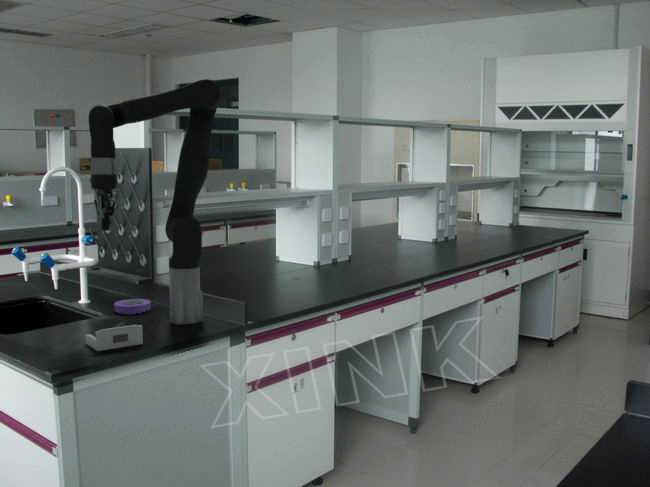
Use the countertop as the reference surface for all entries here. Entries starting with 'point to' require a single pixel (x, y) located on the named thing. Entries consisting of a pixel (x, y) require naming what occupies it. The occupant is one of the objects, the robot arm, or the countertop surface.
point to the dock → (116, 337)
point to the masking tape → (132, 306)
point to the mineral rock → (120, 325)
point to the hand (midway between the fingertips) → (105, 230)
